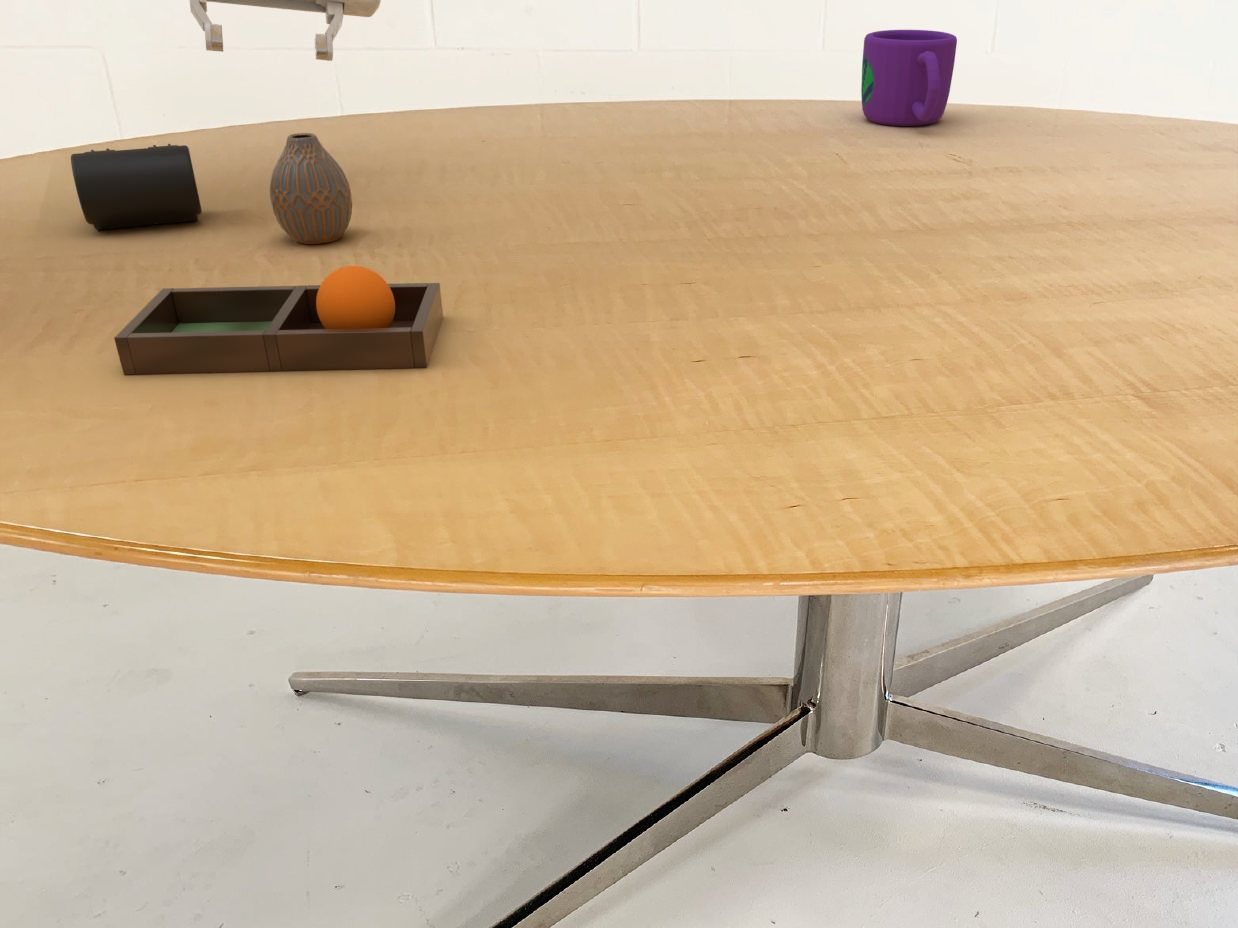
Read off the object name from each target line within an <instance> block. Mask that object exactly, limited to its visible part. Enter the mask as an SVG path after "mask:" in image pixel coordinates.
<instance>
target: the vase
mask: <svg viewBox="0 0 1238 928" xmlns="http://www.w3.org/2000/svg"><path fill="white" fill-rule="evenodd" d="M269 197H270V203H271V207H272V211H273V213H274V216H275V218H276V221H277V223H278V224H279V226H280V228H281V229H282V230H283V232H285V234H286V235H287V236H289V237H290V238H291V239H292V240H294V241H295V242H297V243H300V244H304V245H305V244H306V245H318V244H327V243H332V242H335V241H337V240H339V239H340V238H341V237H342V236H343V235H344V233H346V231H347V229H348V227H349V225H350V222H351V219H352V212H353V199H352V192H351V186H350V183H349V181H348V178H347V176H346V173H345V171H344V169H343V168H342V166H341V165H340V164H339V163H338V161H337V160H336V159H335V158H334V157H333V156H332V155H331V154H330V153H329V152H328V151H327V149H326V148H325V147H324V146H323V144H322V143H321V142H320V140H319V138H318V136H317V135H316V134H315V133H311V132H298V133H291V134H289V135H288V136H286V141H285V145H284V148H283V151H282V152H281V154H280V156H279V158H278V159H277V161H276V163H275V165H274V166H273V169H272V171H271V176H270V183H269Z"/></svg>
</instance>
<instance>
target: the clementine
mask: <svg viewBox="0 0 1238 928" xmlns="http://www.w3.org/2000/svg"><path fill="white" fill-rule="evenodd" d="M388 284H389V283H388V282H387V281H386V280H385V279H384V278H383V277H382V275H380V274H378V273H377V272H376V271H374V270H372V269H370V268H368V267H365V266H361V265H347V266H342V267H339V268H337V269H335V270H333V271H331V272H330V273H329V274H328V275H327V276H326V277H324V279H323V280H322V282H321V283H320V284H319V285H320V287H319V290H318V293H317V298H316V307H317V313H318V316H319V319H320V321H321V323H322V325H323V326H324V327H325V329H359V328H390V326H391V324H392V322H393V319H394V314H395V301H394V296H393V293H392V291H391V289H390V287H389V286H388Z"/></svg>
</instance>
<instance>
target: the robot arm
mask: <svg viewBox="0 0 1238 928" xmlns="http://www.w3.org/2000/svg"><path fill="white" fill-rule="evenodd" d="M208 2H209V3H217V4H218V3H220V4H229V5H239V6H247V7H249V6H250V7H259V8H267V9H268V8H269V9H280V10H291V11H301V12H310V13H311V12H312V13H321V14H325V23H326V24H327V25H328V27H327V29H326V31H325V33H315V35H314V49H315V53H314V55H315V60H317V61H318V60H319V61H320V60H321V61H327V62H332V61H333V60H334V59H333V58H334V47H333V43H334V41H335V38H336V37H337V35H338V33H339V32H340V30H341V27H342V26H343V20H344V16H350V17H362V18H371V17H373V15H374V14H375V13H376V12H378V11H377V10H378V9H379V8H380V6H381V2H382V0H189V8H190V13H191V14H192V16H193V17H194V19H195V20H196V22H197V24H198V25H199V26H200V28H201V29H202V31H203V32H204V40H205V41H204V42H205V51H210V52H224V38H223V36H224V35H223V25H222V24H216V23H212V20H211V19H210V18H209V16H208V14H207V12H208V4H207V3H208Z"/></svg>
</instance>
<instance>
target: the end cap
mask: <svg viewBox="0 0 1238 928" xmlns="http://www.w3.org/2000/svg"><path fill="white" fill-rule="evenodd" d="M70 164H71V170H72V171H71V172H72V176H73V181H74V185H75V189H76V194H77V198H78V202H79V205H80V208H81V211H82V214H83V217H84V220H85V222H86V223H87V224H88V225H90V226H91V225H93V228H94V230H95V231H98V230H99V231H100V230H110V229H120V228H129V227H130V228H131V227H140V226H152V225H163V224H173V223H184V222H193V221H198V220H199V218H198V215H201V214H202V212H203V210H202V205H201V200H200V196H199V190H198V186H197V182H196V177H195V172H194V167H193V162H192V157H191V153H190V148H189V147H188V145H178V144H172V145H171V143H168V144H167V145H160V146H157V145H156V144H153V145H152V146H148V147H147V148H133V149H131V148H130V149H119V150H117V149H110V148H108V147H107V148H106V149H105V150H94V149H91V150H90V151H85V152H77V153H72V154H71V155H70Z"/></svg>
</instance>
